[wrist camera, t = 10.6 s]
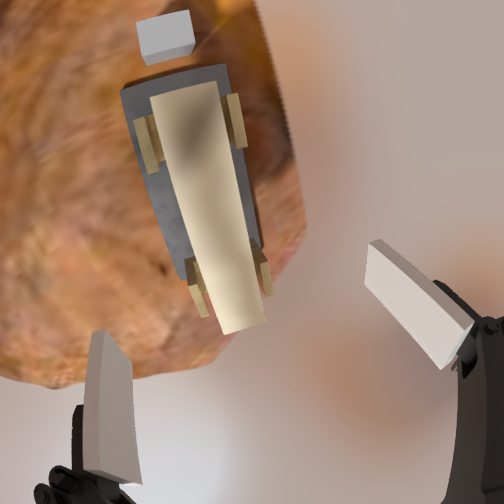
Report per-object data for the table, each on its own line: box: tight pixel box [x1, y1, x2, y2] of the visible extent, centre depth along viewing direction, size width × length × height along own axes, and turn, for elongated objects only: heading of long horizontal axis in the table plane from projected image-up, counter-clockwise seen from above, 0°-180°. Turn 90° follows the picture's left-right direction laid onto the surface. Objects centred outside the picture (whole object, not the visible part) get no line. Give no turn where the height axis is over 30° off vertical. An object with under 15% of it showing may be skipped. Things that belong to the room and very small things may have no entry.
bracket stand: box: [120, 63, 274, 318], centre depth 26 cm, size 12×26×14 cm, turn 10°
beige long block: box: [150, 81, 266, 335], centre depth 21 cm, size 4×20×6 cm, turn 10°
